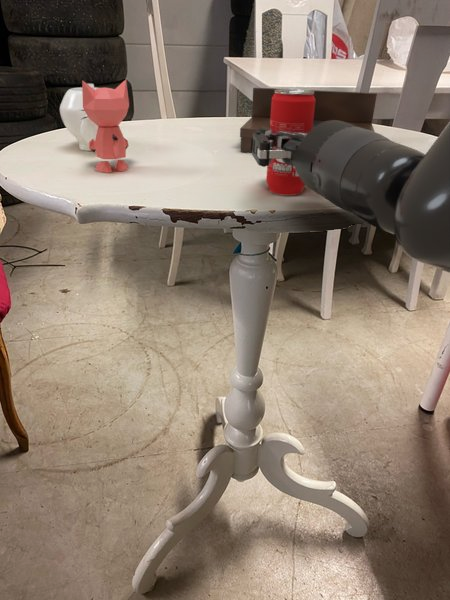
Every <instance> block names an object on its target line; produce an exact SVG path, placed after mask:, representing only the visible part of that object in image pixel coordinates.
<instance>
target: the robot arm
mask: <svg viewBox="0 0 450 600" xmlns="http://www.w3.org/2000/svg"><path fill="white" fill-rule="evenodd" d="M289 138H291V139H290V140H289ZM275 139H277V148H276V147H275ZM251 155H252V157H253V159H254V160H255V162H256V163H257V166H260V167H263V168H264V167H265V168H267V166H269V163H271V162H272V159H276V160H277V161H279V162H282V163H285V164H288V165H292V166H293V167H294V168H295V169H296V170H297V173H298V175H299V177H300V179H301V181H302V182H303V183H304V184H305V187H306V188H308V189H309V190H310V191H313V192H314V193H316V194H317V195H319V196H320V197H322V198H323V199H325V200H326V201H328V202H329V203H331V204H332V205H334V206H336V207H337V208H339V209H341V210H342V211H343V210H344V211H346V212H349V213H352V214H353V215H355V216H356V217H358V218H360V220H363V221H364V222H366V223H368V224H369V225H371V226H372V227H375V228H377V229H379V230H381V231H384V232H387V233H388V234H389V233H390V234H392V235H394V237H395V240H396V243H397V245H398V246H399V248H400V250H401V251H402V252H403V253H404V255H406V256H408V257H409V258H411V259H412V260H414V261H416V262H419V263H421V264H423V265H427V266H430V267H432V268H435V269H437V270H440V271H444V272H446V273H449V274H450V121H448V122H447V124H446V126H444V128H443V129H442V131H441V132H440V134H439V136H438V137H437V138H436V140H435V141H434V142H433V144H432V145H431V146H430V147H429V149H428V150H427V152H426V153H423V152H422V151H420V150H418V149H415V148H413V147H409V146H406V145H404V144H401V143H397V142H396V141H393V140H391V139H389V138H388V137H386V136H384V135H383V134H381V133H378V132H376V131H375V132H373V131H370V130H367V129H364V128H361V127H358V126H355V125H352V124H349V123H346V122H343V121H339V120H330V121H326V122H323V123H321V124H319V125H317V126H315V127H312V130H310V131H309V132H295V131H290V130H284V131H279V132H275V131H273V130H271V129H269V128H267V127H259V128H258V130H256V133H253V150H252V152H251Z"/></svg>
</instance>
